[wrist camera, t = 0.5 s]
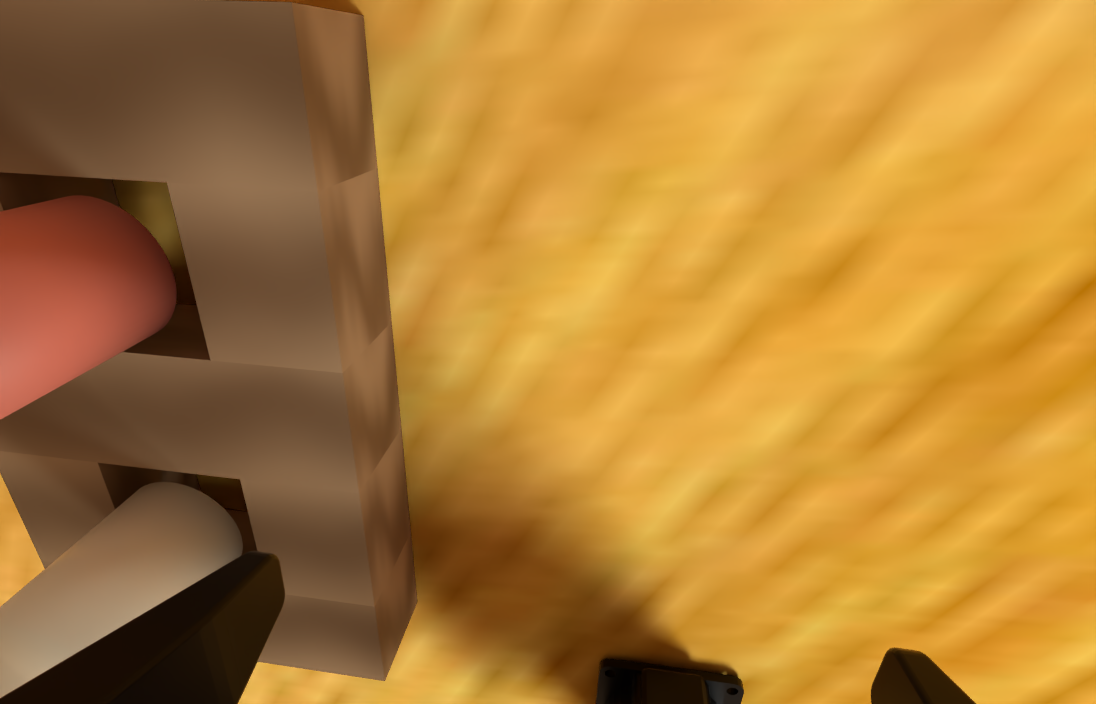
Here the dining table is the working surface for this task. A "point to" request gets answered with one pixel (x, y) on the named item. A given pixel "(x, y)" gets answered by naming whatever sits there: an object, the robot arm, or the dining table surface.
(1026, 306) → the dining table surface
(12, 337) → the red plunger
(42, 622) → the grey plunger
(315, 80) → the press panel
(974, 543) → the dining table surface
